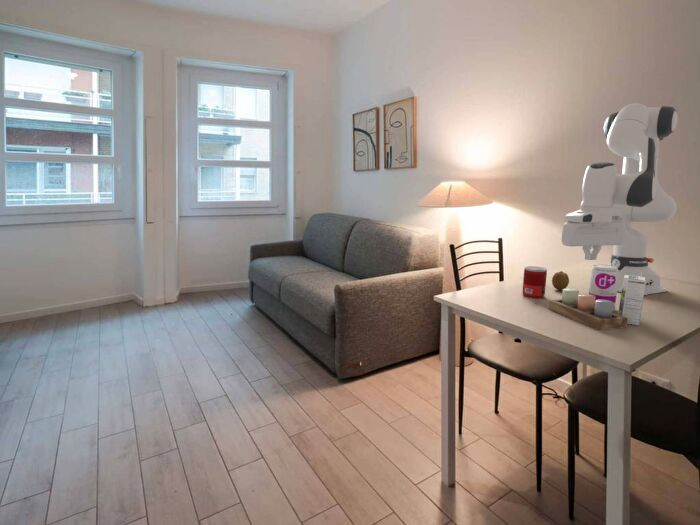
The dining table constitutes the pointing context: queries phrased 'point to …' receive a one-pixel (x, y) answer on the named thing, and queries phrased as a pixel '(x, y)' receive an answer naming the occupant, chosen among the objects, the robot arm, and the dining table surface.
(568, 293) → the sage button
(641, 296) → the syrup box
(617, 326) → the wooden tray
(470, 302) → the dining table surface
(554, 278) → the fruit
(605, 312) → the grey button
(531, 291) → the canned food
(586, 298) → the pink rounded cylinder
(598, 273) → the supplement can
